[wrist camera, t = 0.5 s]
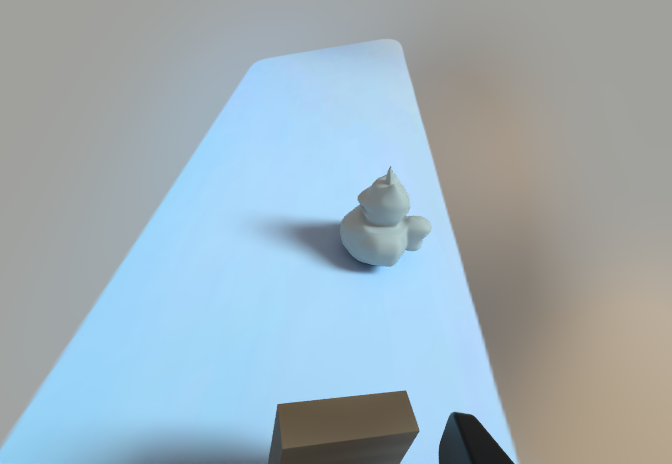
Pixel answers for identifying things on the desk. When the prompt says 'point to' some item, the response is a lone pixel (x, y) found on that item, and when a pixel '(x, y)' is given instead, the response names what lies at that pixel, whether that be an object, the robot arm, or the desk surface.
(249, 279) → the desk surface
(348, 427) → the domino
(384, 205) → the grey lumpy figure
